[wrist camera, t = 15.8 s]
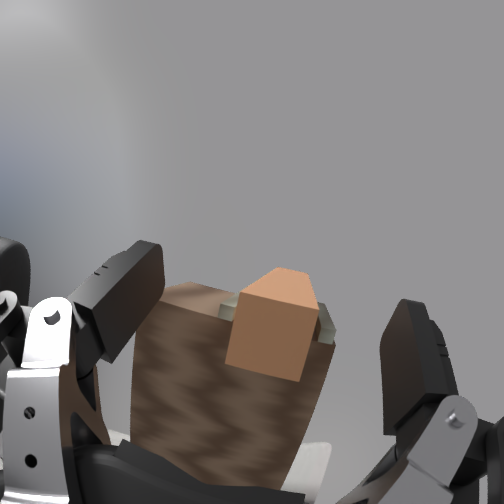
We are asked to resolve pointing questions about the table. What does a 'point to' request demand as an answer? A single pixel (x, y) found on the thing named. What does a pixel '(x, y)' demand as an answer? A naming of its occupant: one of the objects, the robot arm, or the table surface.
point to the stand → (218, 392)
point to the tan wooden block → (274, 325)
